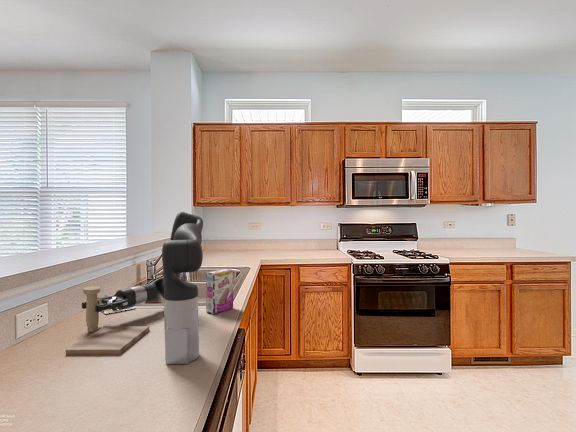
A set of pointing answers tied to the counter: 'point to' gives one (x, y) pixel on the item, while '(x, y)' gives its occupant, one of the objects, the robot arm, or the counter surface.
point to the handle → (91, 308)
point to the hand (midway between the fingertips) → (88, 307)
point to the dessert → (121, 310)
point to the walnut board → (108, 341)
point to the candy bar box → (219, 291)
